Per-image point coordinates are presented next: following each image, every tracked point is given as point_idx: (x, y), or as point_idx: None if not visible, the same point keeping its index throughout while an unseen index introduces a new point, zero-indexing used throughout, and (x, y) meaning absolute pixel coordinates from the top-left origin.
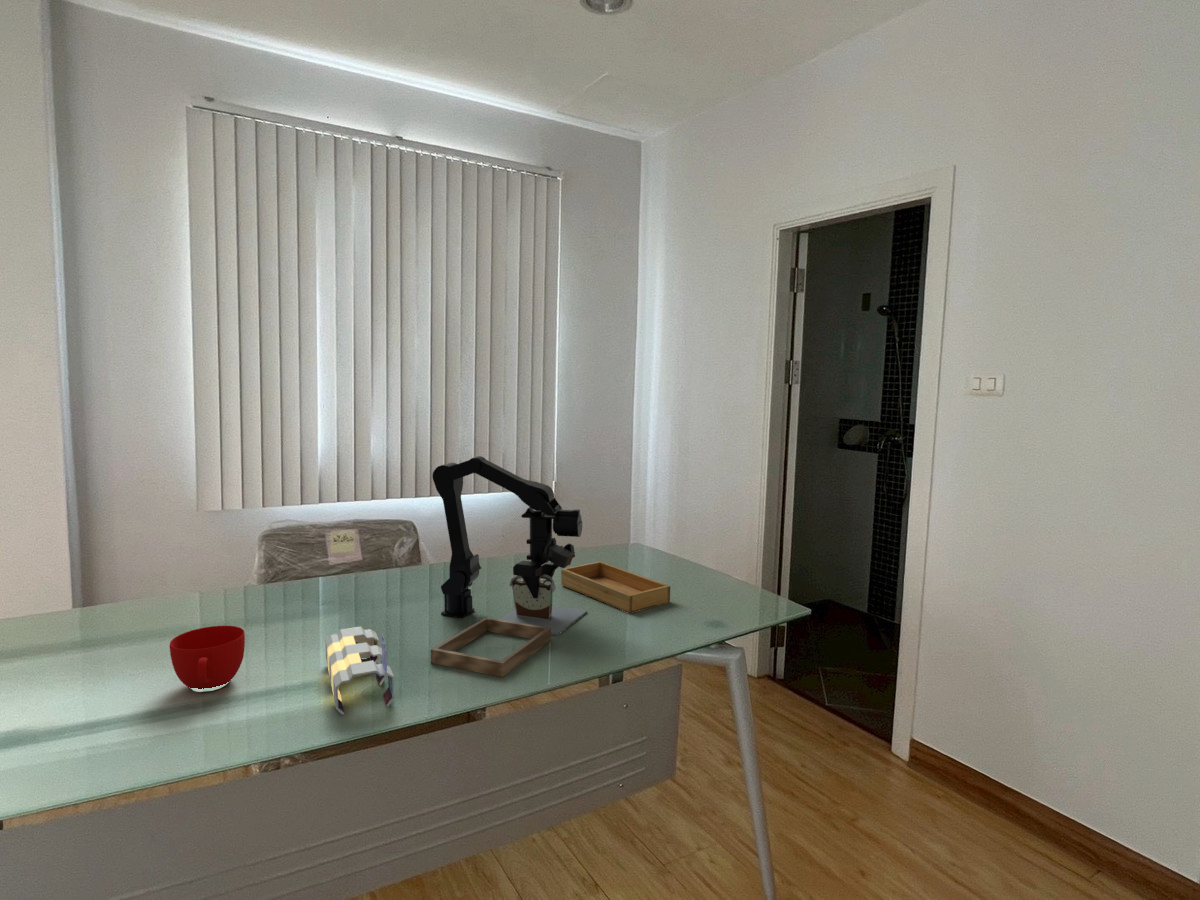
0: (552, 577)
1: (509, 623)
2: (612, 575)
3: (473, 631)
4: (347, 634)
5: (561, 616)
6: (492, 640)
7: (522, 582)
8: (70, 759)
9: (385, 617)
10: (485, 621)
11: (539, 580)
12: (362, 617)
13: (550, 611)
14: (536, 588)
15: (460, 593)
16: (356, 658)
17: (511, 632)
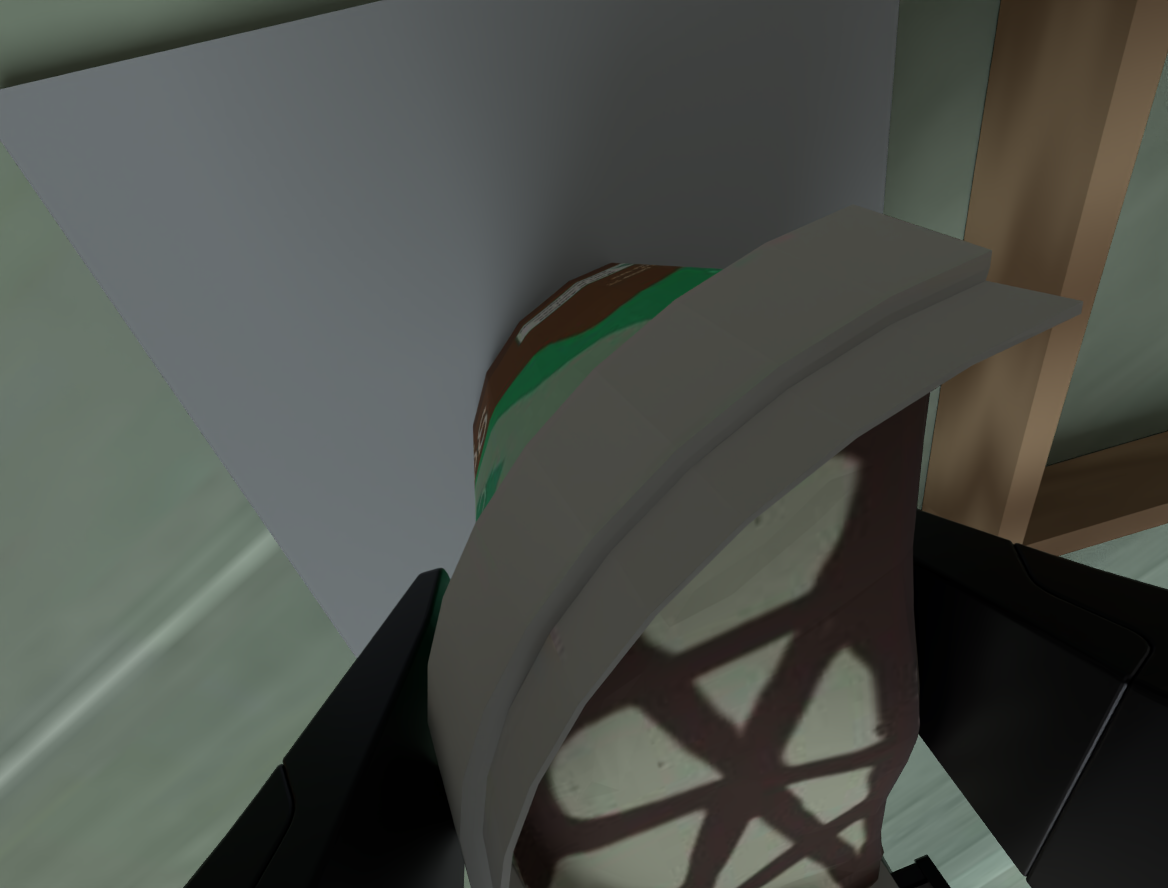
0: (274, 785)
1: (1067, 367)
2: None
3: (1149, 480)
4: None
5: (429, 244)
6: (1092, 355)
7: (865, 815)
8: None
9: (916, 831)
10: (1030, 534)
11: (1134, 661)
12: (938, 856)
13: (630, 271)
14: (980, 540)
15: (935, 866)
16: None
17: None
